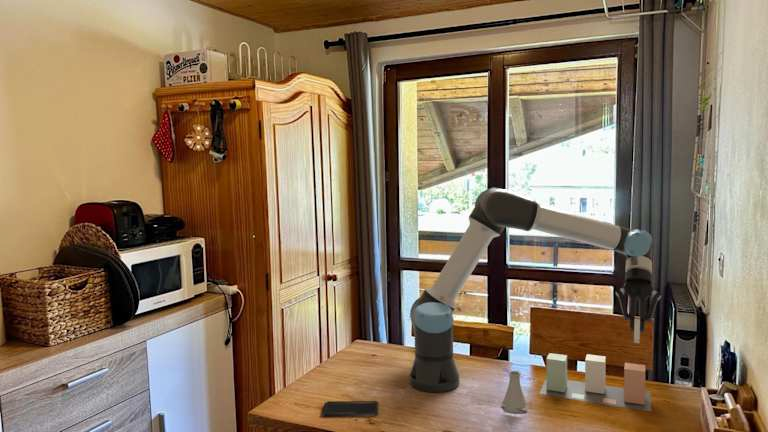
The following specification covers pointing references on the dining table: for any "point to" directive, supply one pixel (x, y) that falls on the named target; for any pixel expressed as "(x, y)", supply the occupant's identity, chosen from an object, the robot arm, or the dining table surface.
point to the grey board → (598, 395)
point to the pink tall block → (634, 383)
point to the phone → (350, 409)
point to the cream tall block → (595, 373)
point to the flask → (514, 395)
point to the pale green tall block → (556, 372)
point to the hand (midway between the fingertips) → (636, 340)
